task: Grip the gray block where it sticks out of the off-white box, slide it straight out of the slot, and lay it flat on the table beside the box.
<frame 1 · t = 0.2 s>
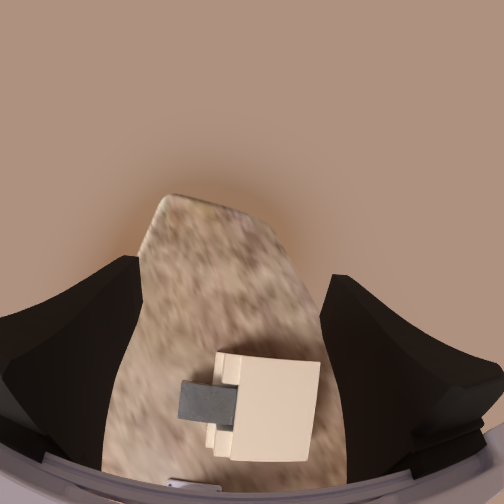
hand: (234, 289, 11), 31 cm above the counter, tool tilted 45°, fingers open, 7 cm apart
slotted box: (253, 404, 37), on the counter
gray block: (225, 403, 35), point 1 cm above the counter, touching slotted box
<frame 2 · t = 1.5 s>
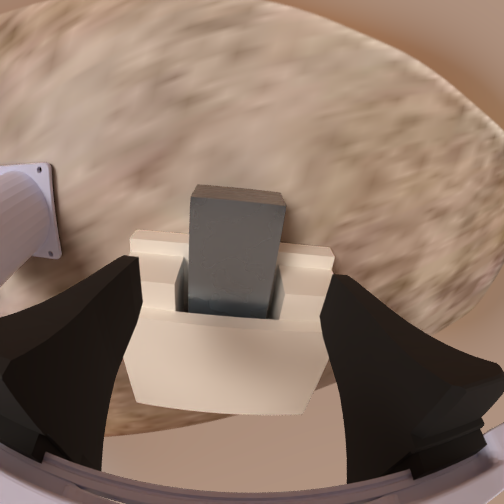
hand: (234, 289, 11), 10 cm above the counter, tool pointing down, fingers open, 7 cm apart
slotted box: (226, 306, 23), on the counter
gray block: (230, 273, 20), point 1 cm above the counter, touching slotted box
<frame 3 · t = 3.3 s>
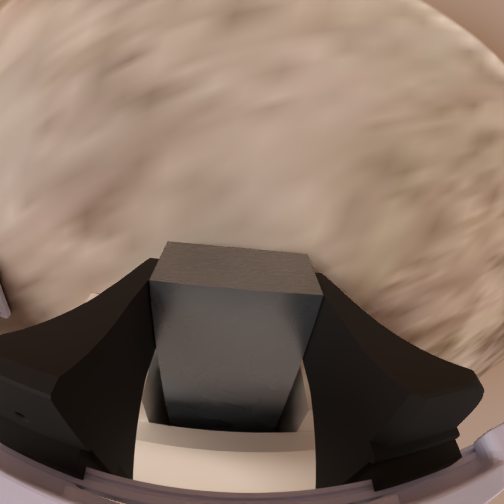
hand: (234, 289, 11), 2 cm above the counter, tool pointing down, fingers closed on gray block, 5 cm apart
slotted box: (222, 385, 16), on the counter
gray block: (226, 361, 13), point 1 cm above the counter, touching gripper, slotted box
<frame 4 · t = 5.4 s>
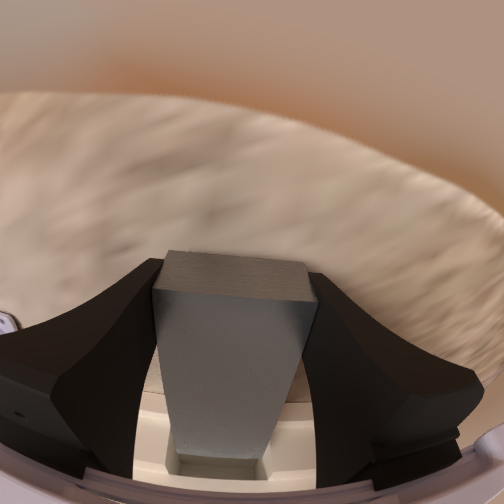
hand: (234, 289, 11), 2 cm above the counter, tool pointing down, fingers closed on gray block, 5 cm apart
slotted box: (218, 437, 20), on the counter
gray block: (225, 366, 13), point 1 cm above the counter, touching gripper
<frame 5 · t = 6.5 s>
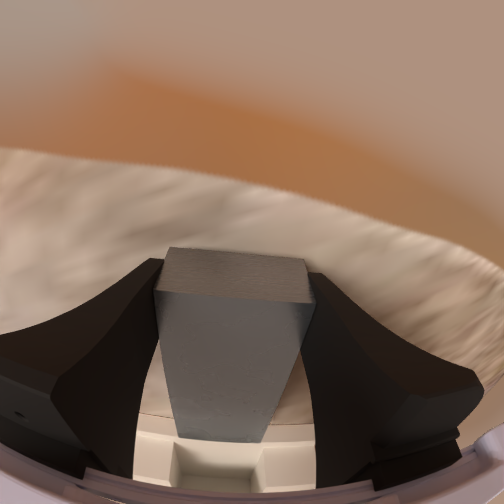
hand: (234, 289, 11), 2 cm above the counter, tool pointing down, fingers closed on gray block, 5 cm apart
slotted box: (217, 452, 21), on the counter
gray block: (225, 355, 14), on the counter, touching gripper
when the fingers open (1 cm above the counter, at t = 7.5 s): gray block stays where it is, on the counter.
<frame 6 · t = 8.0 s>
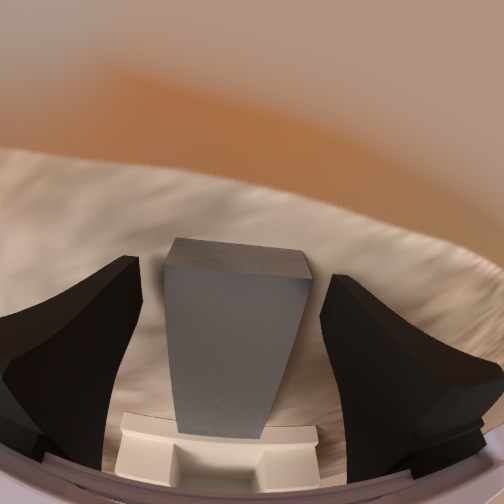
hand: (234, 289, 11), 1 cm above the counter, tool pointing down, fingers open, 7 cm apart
slotted box: (217, 454, 21), on the counter
gray block: (226, 345, 15), on the counter
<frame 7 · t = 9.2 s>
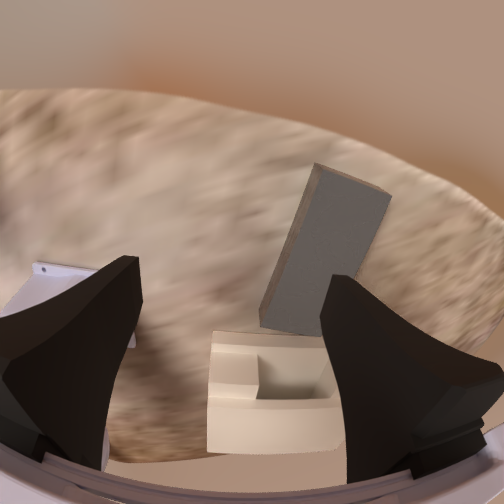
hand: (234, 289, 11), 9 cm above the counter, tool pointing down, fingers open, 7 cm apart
slotted box: (281, 377, 27), on the counter
gray block: (315, 249, 21), on the counter
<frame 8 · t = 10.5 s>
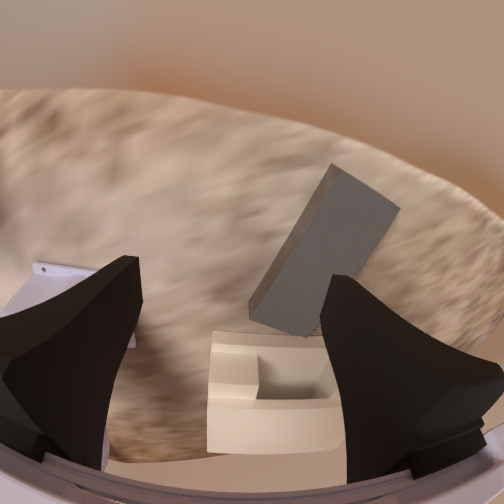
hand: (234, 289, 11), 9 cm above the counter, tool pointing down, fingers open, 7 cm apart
slotted box: (281, 377, 27), on the counter
gray block: (315, 249, 21), on the counter
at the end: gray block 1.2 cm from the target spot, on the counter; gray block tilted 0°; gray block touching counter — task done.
